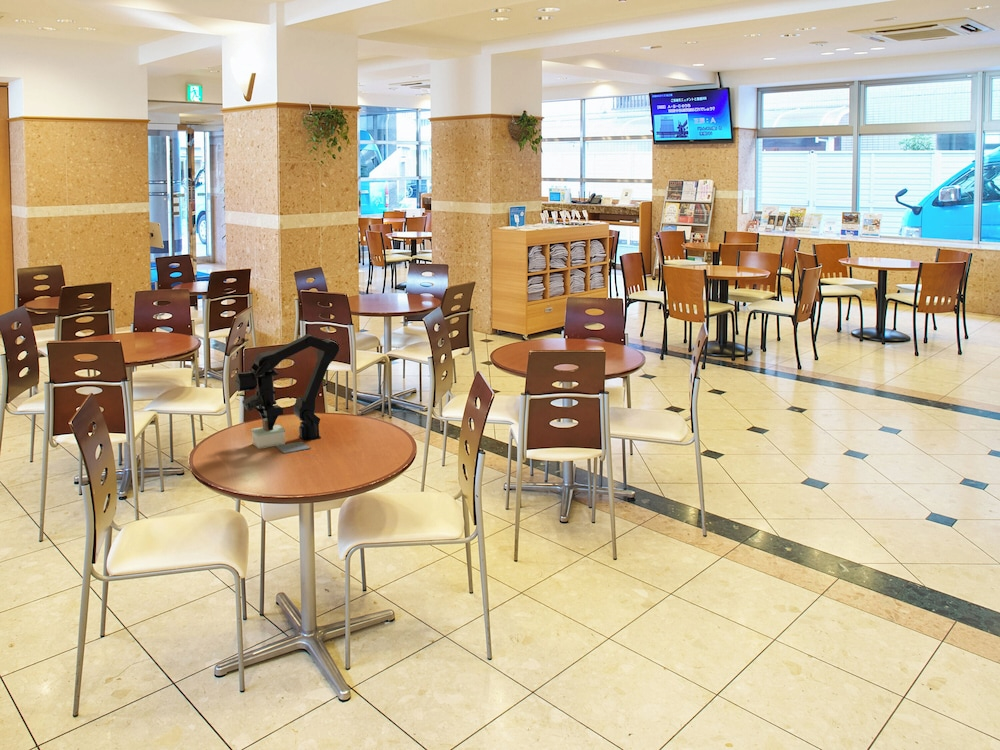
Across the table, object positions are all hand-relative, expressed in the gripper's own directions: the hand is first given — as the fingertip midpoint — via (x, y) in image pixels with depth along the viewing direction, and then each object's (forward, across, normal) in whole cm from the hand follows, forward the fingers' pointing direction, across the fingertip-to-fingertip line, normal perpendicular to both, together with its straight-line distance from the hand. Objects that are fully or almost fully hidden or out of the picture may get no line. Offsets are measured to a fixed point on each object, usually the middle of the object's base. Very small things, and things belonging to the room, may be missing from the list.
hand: (268, 428), depth 325 cm
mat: (+6, +9, +6) cm, 12 cm away
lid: (+1, 0, 0) cm, 1 cm away
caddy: (+6, 0, 0) cm, 6 cm away
